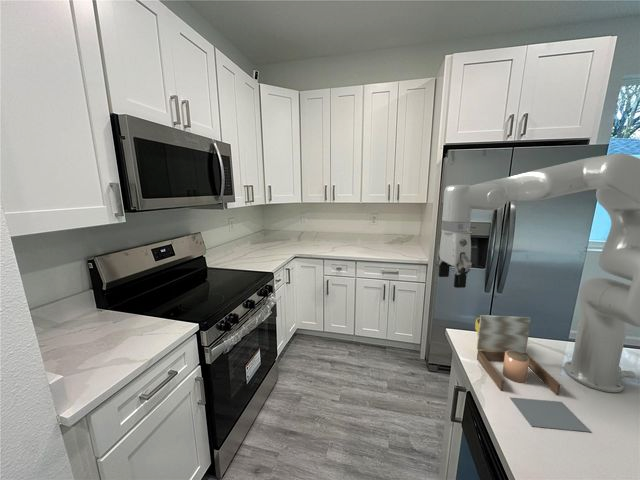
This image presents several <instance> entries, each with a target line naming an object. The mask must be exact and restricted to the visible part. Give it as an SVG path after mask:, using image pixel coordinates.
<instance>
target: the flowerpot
mask: <svg viewBox="0 0 640 480" xmlns="http://www.w3.org/2000/svg"><path fill="white" fill-rule="evenodd" d="M504 352H505V357H504V362H503V368H502V375H503V377H504V378H506V379H507V380H509V381H511V382H513V383H515V384H516V383H517V384H525V383H527V381H528V380H527V379H528V372H529V368H528V367H529V358H528V357H527V356H526V355H524V354H522V353H523V352H517V351H512V350H508V351H504Z"/></svg>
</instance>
